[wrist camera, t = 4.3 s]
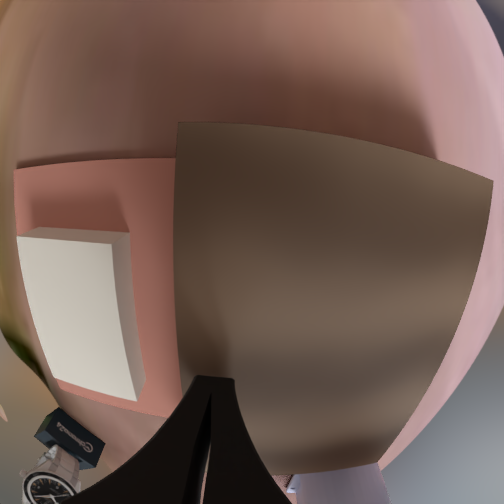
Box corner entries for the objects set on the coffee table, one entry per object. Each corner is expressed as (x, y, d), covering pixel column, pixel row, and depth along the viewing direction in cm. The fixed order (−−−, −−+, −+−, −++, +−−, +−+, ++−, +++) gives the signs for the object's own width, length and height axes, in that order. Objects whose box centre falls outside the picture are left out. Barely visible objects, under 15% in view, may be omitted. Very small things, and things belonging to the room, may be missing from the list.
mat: (196, 417, 16) (195, 421, 16) (62, 385, 16) (60, 389, 15) (192, 158, 11) (191, 158, 11) (18, 169, 11) (13, 169, 11)
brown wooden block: (362, 423, 17) (376, 462, 13) (201, 425, 16) (194, 471, 13) (440, 173, 11) (493, 181, 8) (201, 136, 11) (178, 122, 7)
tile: (53, 377, 12) (67, 359, 14) (137, 401, 13) (146, 379, 15) (16, 236, 10) (39, 226, 12) (111, 244, 10) (130, 232, 12)
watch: (114, 440, 18) (81, 535, 7) (81, 450, 19) (52, 523, 9) (64, 401, 16) (12, 494, 6) (41, 418, 18) (1, 489, 7)
